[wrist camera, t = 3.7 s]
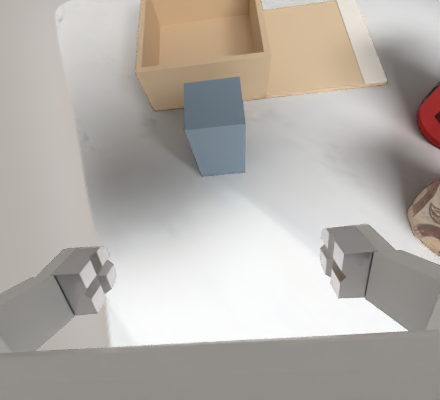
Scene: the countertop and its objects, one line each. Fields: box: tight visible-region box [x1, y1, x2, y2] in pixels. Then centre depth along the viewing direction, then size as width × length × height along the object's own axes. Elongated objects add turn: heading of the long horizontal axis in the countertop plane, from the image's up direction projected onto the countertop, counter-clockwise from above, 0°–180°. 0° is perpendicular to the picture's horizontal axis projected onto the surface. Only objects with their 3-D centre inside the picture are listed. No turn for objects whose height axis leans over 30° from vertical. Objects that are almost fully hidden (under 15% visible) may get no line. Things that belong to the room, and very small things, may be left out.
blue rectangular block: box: [184, 77, 245, 177], centre depth 22 cm, size 4×4×8 cm
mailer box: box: [135, 0, 387, 111], centre depth 28 cm, size 26×14×6 cm, turn 93°
